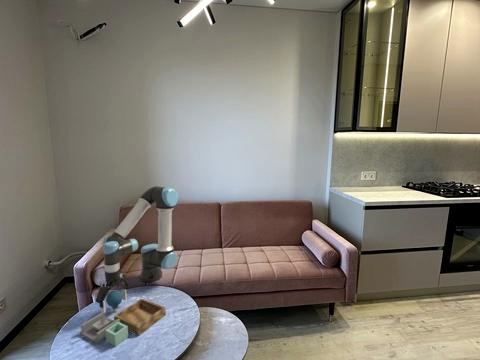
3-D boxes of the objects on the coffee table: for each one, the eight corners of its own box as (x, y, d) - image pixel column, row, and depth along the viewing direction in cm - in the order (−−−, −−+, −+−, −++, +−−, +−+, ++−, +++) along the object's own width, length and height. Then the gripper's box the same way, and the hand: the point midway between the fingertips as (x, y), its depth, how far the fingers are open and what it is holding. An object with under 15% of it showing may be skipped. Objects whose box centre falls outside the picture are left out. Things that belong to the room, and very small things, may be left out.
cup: (118, 332, 138) (118, 321, 137) (128, 337, 134) (127, 326, 133) (106, 341, 132) (105, 330, 131) (115, 346, 128) (115, 335, 127)
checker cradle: (105, 319, 148) (104, 310, 147) (122, 327, 141) (122, 318, 141) (79, 335, 136) (78, 325, 135) (97, 345, 129) (96, 335, 129)
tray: (142, 305, 160) (141, 298, 160) (165, 315, 151) (165, 307, 151) (114, 323, 144) (113, 316, 144) (139, 335, 135) (138, 327, 135)
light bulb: (117, 317, 150) (115, 296, 148) (103, 315, 151) (102, 294, 150) (126, 307, 158) (125, 288, 156) (113, 306, 160) (112, 286, 158)
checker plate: (102, 320, 142) (102, 318, 142) (110, 323, 139) (110, 321, 139) (91, 326, 137) (91, 325, 137) (99, 330, 134) (99, 329, 134)
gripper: (126, 260, 164) (128, 293, 166) (86, 277, 142) (89, 315, 145) (135, 262, 160) (137, 296, 163) (95, 281, 138) (98, 320, 141)
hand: (114, 305), depth 154 cm, fingers open, 13 cm apart
